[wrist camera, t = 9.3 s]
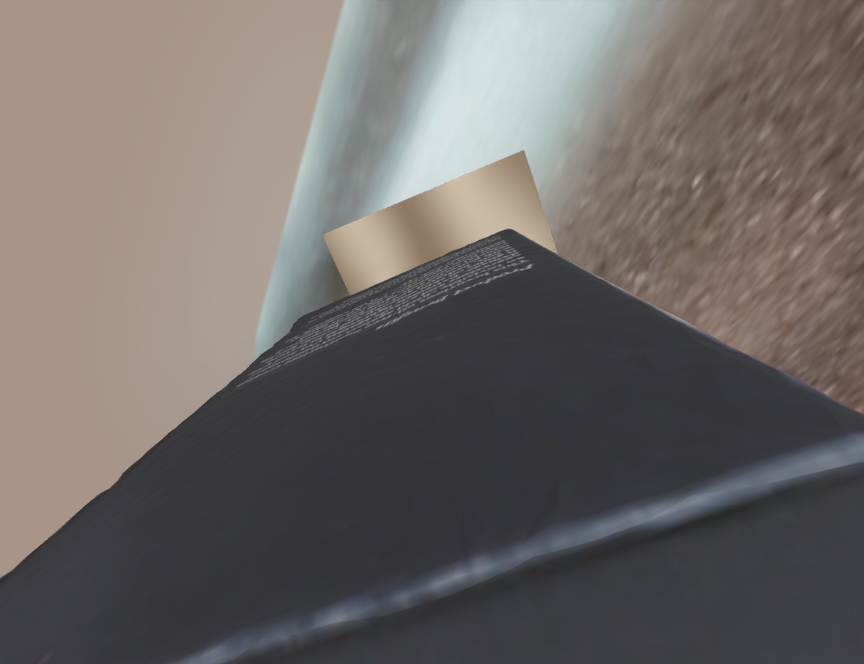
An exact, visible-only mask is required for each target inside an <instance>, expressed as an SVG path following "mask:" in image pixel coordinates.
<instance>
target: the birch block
mask: <svg viewBox="0 0 864 664" xmlns="http://www.w3.org/2000/svg"><path fill="white" fill-rule="evenodd" d="M505 229H513V230H515V231H517V232H518V233H520V234H522V235H524V236H526V237H527V238H529V239H531V240H533V241H535V242H536V243H538V244H540V245H541V246H543V247H545V248H547V249H549V250H550V251H552V252H555V253H556V254H557V250H556V247H555V244H554V241H553V238H552V235H551V232H550V229H549V226H548V223H547V220H546V217H545V214H544V210H543V207H542V204H541V201H540V198H539V195H538V192H537V189H536V186H535V183H534V180H533V177H532V174H531V170H530V167H529V164H528V161H527V158H526V155H525V152H524V150H523V151H520V152H518V153H516V154H513V155H511V156H509V157H506V158H504V159H501V160H499V161H497V162H494V163H492V164H490V165H487V166H485V167H482V168H480V169H478V170H475V171H473V172H471V173H468V174H466V175H463V176H461V177H459V178H456V179H454V180H452V181H449V182H447V183H444V184H442V185H440V186H437V187H435V188H433V189H430V190H428V191H425V192H423V193H421V194H418V195H416V196H414V197H411V198H409V199H406V200H404V201H402V202H399V203H397V204H395V205H392V206H390V207H387V208H385V209H383V210H380V211H378V212H376V213H373V214H371V215H368V216H366V217H364V218H361V219H359V220H357V221H354V222H352V223H349V224H347V225H345V226H342V227H340V228H338V229H335V230H333V231H330V232H328V233H326V234H323V235H322V236H323V238H324V240H325V242H326V244H327V247H328V249H329V251H330V253H331V255H332V257H333V260H334V262H335V264H336V266H337V268H338V271H339V273H340V275H341V277H342V279H343V281H344V284H345V286H346V288H347V290H348V292H349V295H353V294H355V293H358V292H360V291H362V290H364V289H367V288H369V287H371V286H373V285H375V284H378V283H380V282H383V281H385V280H387V279H389V278H392V277H394V276H396V275H399V274H401V273H403V272H406V271H408V270H411V269H413V268H415V267H417V266H419V265H422V264H424V263H426V262H429V261H431V260H433V259H436V258H438V257H441V256H443V255H445V254H447V253H449V252H451V251H454V250H456V249H459V248H462V247H464V246H466V245H468V244H471V243H474V242H476V241H478V240H480V239H483V238H486V237H488V236H490V235H492V234H495V233H497V232H499V231H502V230H505Z"/></svg>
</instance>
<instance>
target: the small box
mask: <svg viewBox="0 0 864 664" xmlns="http://www.w3.org/2000/svg"><path fill="white" fill-rule="evenodd" d="M0 664H864V414H862V413H860V412H857V411H855V410H853V409H850V408H849V407H847V406H845V405H843V404H842V403H840V402H838V401H836V400H834V399H833V398H831V397H829V396H827V395H826V394H824V393H822V392H820V391H819V390H817V389H815V388H813V387H812V386H810V385H808V384H806V383H804V382H803V381H801V380H799V379H797V378H795V377H793V376H791V375H789V374H787V373H785V372H783V371H781V370H778V369H776V368H774V367H772V366H770V365H768V364H766V363H764V362H762V361H760V360H758V359H755V358H753V357H751V356H749V355H747V354H745V353H743V352H741V351H739V350H737V349H735V348H733V347H730V346H728V345H727V344H725V343H723V342H721V341H720V340H718V339H716V338H714V337H713V336H711V335H709V334H707V333H706V332H704V331H702V330H700V329H699V328H697V327H695V326H693V325H692V324H690V323H688V322H686V321H684V320H682V319H680V318H678V317H676V316H674V315H672V314H670V313H668V312H666V311H664V310H662V309H660V308H658V307H656V306H654V305H652V304H650V303H648V302H647V301H645V300H643V299H641V298H639V297H637V296H635V295H633V294H631V293H629V292H627V291H625V290H624V289H622V288H620V287H618V286H616V285H614V284H612V283H610V282H608V281H606V280H604V279H603V278H601V277H599V276H597V275H595V274H593V273H591V272H589V271H587V270H586V269H584V268H582V267H580V266H579V265H577V264H575V263H573V262H571V261H569V260H567V259H565V258H564V257H562V256H560V255H558V254H556V253H555V252H552V251H550V250H549V249H547V248H545V247H543V246H541V245H540V244H538V243H536V242H535V241H533V240H531V239H529V238H527V237H526V236H524V235H522V234H520V233H518V232H517V231H515V230H513V229H505V230H502V231H499V232H497V233H495V234H492V235H490V236H488V237H486V238H483V239H480V240H478V241H476V242H474V243H471V244H468V245H466V246H464V247H462V248H459V249H456V250H454V251H451V252H449V253H447V254H445V255H443V256H441V257H438V258H436V259H433V260H431V261H429V262H426V263H424V264H422V265H419V266H417V267H415V268H413V269H411V270H408V271H406V272H403V273H401V274H399V275H396V276H394V277H392V278H389V279H387V280H385V281H383V282H380V283H378V284H375V285H373V286H371V287H369V288H367V289H364V290H362V291H360V292H358V293H355V294H353V295H350V296H348V297H345V298H343V299H341V300H339V301H336V302H334V303H332V304H330V305H327V306H325V307H323V308H320V309H318V310H316V311H314V312H311V313H308V314H306V315H304V316H302V317H301V318H299V319H298V321H296V322H295V323H294V324H293V327H292V329H291V330H290V331H289V333H288V334H287V335H285V336H284V337H283V338H282V339H280V340H279V341H278V342H277V343H275V344H274V345H273V347H272V348H270V349H269V350H267V351H266V352H264V353H263V354H261V355H260V356H259V357H258V358H257V359H256V360H255V361H254V362H253V363H252V364H251V365H250V366H249V367H248V368H247V369H246V370H245V371H244V372H242V373H241V374H240V375H238V376H237V377H236V378H235V379H233V380H232V381H231V382H230V383H229V384H228V385H227V386H226V387H225V388H223V389H222V390H220V391H219V392H217V393H216V394H215V395H214V396H212V397H211V398H210V399H209V400H208V401H207V402H206V403H204V404H203V405H202V406H201V407H200V408H199V409H198V410H197V411H195V412H194V413H193V414H192V415H191V416H189V417H188V418H187V419H185V420H184V421H183V422H182V423H181V424H179V425H178V426H177V427H176V428H175V429H174V430H172V431H171V432H169V433H168V434H167V435H166V436H165V437H164V438H163V439H162V440H161V441H159V442H158V443H157V444H156V445H154V446H153V447H152V448H151V449H150V450H149V451H148V452H147V453H145V455H143V456H142V457H141V458H140V459H139V460H138V461H136V462H135V463H134V464H133V465H131V466H130V467H129V468H128V469H127V470H126V471H125V472H124V473H123V474H122V475H121V476H120V478H119V479H118V481H117V482H116V483H115V484H114V485H113V486H112V487H111V488H109V489H108V490H106V491H104V492H102V493H100V494H98V495H97V496H96V497H95V498H94V499H93V500H91V501H90V502H89V503H88V504H87V505H85V506H84V507H83V508H82V509H81V510H80V511H79V512H78V513H76V514H75V515H74V516H73V517H72V518H71V519H70V520H69V521H67V522H66V523H65V524H64V525H63V526H62V527H61V528H60V529H58V530H57V531H56V532H55V533H54V534H53V535H52V536H51V537H49V538H48V540H46V541H45V542H44V543H43V544H41V545H40V546H39V547H38V548H37V549H35V550H34V551H33V552H32V553H30V554H29V555H28V556H27V557H26V558H25V559H24V560H23V561H22V562H20V563H19V564H18V565H17V566H16V567H15V568H14V569H13V570H12V571H10V572H8V573H7V574H5V575H4V576H2V577H0Z"/></svg>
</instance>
